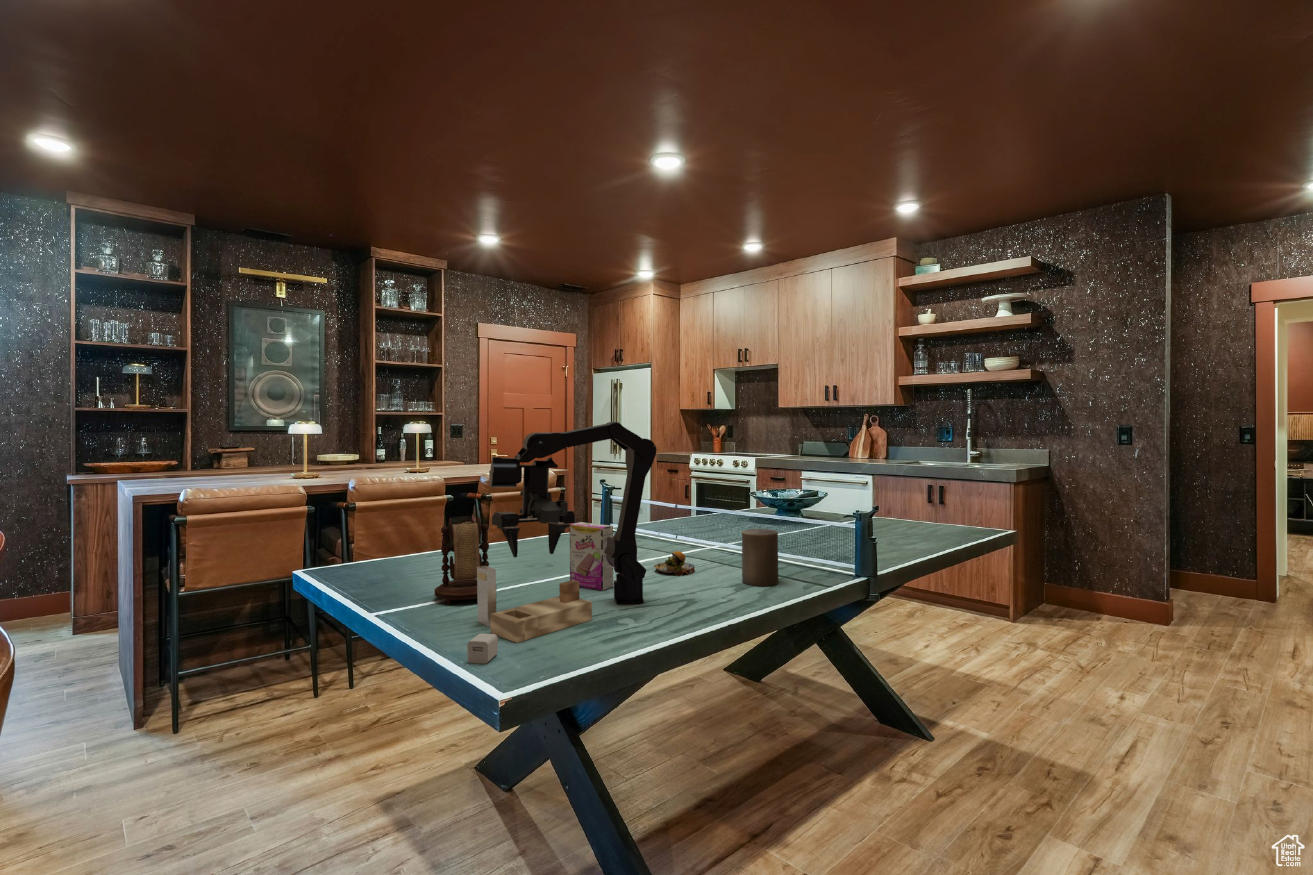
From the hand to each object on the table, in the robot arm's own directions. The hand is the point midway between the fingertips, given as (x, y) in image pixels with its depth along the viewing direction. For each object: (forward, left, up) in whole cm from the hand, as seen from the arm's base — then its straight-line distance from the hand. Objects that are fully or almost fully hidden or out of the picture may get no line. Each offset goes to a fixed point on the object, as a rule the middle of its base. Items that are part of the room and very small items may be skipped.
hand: (533, 555), depth 154 cm
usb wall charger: (+7, +29, -13) cm, 32 cm away
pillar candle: (-58, -20, -13) cm, 63 cm away
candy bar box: (-13, -21, -13) cm, 28 cm away
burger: (-37, -36, -13) cm, 54 cm away
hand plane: (-3, +12, -13) cm, 17 cm away
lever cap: (+10, +8, -13) cm, 18 cm away
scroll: (+18, -14, -13) cm, 26 cm away
